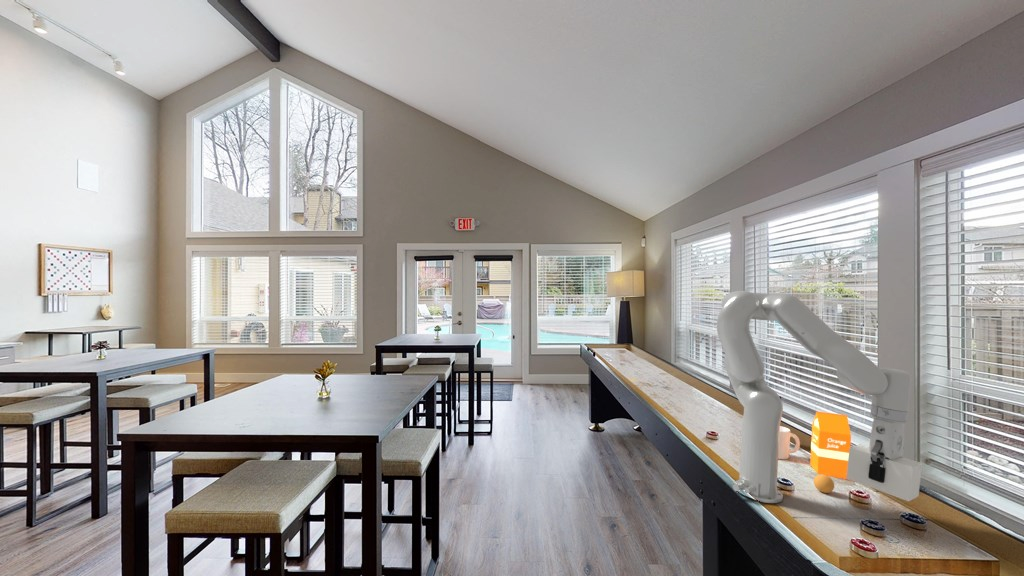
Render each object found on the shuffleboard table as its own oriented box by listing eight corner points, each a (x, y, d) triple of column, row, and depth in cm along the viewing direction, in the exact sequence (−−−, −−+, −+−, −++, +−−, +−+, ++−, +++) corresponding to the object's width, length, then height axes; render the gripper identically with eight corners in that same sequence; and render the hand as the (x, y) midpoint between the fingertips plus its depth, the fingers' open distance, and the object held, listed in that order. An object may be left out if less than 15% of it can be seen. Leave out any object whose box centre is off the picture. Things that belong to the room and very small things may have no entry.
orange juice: (849, 479, 136) (852, 418, 137) (817, 474, 139) (820, 414, 140) (840, 470, 144) (842, 412, 144) (809, 465, 147) (812, 408, 147)
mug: (794, 454, 157) (795, 426, 157) (804, 462, 149) (806, 433, 149) (759, 450, 160) (760, 423, 160) (768, 458, 151) (769, 430, 151)
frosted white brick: (908, 501, 106) (912, 467, 106) (846, 478, 117) (849, 447, 117) (918, 496, 110) (922, 463, 110) (857, 474, 122) (860, 444, 122)
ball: (807, 485, 128) (824, 498, 124) (815, 472, 126) (832, 485, 122) (815, 481, 130) (832, 494, 126) (823, 469, 128) (840, 482, 125)
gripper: (895, 421, 106) (888, 490, 106) (917, 415, 115) (911, 479, 115) (859, 412, 112) (852, 477, 113) (882, 407, 122) (876, 467, 122)
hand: (882, 477), depth 114 cm, fingers closed on frosted white brick, 7 cm apart
